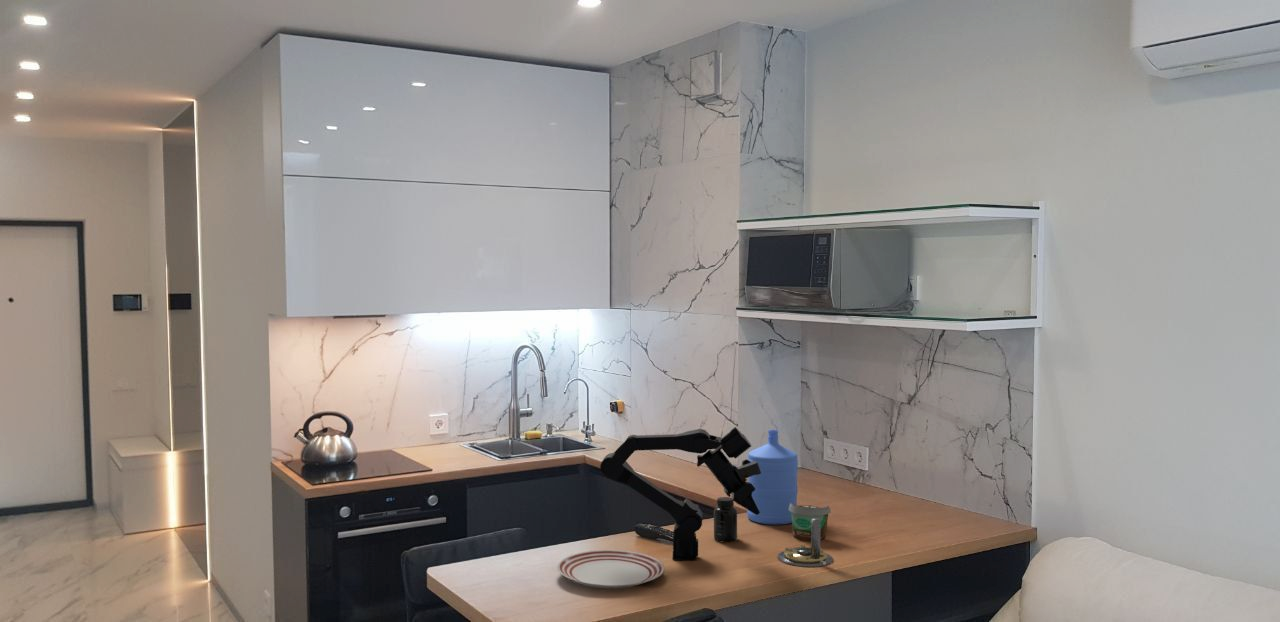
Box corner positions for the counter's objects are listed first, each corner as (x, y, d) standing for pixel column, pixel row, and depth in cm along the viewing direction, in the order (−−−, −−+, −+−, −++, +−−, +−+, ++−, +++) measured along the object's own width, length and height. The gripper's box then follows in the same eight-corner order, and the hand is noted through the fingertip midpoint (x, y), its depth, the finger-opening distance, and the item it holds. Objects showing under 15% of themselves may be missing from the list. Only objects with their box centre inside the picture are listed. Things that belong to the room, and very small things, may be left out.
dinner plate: (685, 576, 253) (685, 564, 253) (612, 604, 233) (612, 590, 232) (608, 555, 271) (608, 543, 271) (534, 578, 251) (534, 565, 251)
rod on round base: (775, 554, 271) (775, 512, 270) (809, 548, 276) (809, 508, 275) (800, 565, 260) (801, 522, 260) (835, 559, 266) (836, 517, 265)
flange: (780, 566, 261) (780, 558, 261) (774, 550, 276) (775, 541, 276) (837, 567, 260) (837, 559, 260) (828, 550, 275) (828, 542, 275)
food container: (784, 540, 286) (784, 506, 285) (788, 534, 292) (789, 501, 291) (826, 544, 282) (827, 510, 281) (830, 539, 287) (830, 505, 287)
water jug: (800, 526, 301) (801, 435, 300) (748, 525, 302) (749, 435, 301) (794, 513, 317) (795, 427, 316) (745, 512, 318) (746, 426, 316)
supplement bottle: (722, 534, 291) (722, 494, 291) (741, 538, 287) (742, 498, 286) (708, 539, 286) (709, 499, 285) (728, 544, 282) (728, 502, 281)
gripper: (750, 452, 258) (788, 499, 258) (739, 447, 277) (774, 490, 277) (718, 479, 257) (755, 526, 257) (709, 472, 276) (743, 516, 276)
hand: (758, 513), depth 267 cm, fingers closed
